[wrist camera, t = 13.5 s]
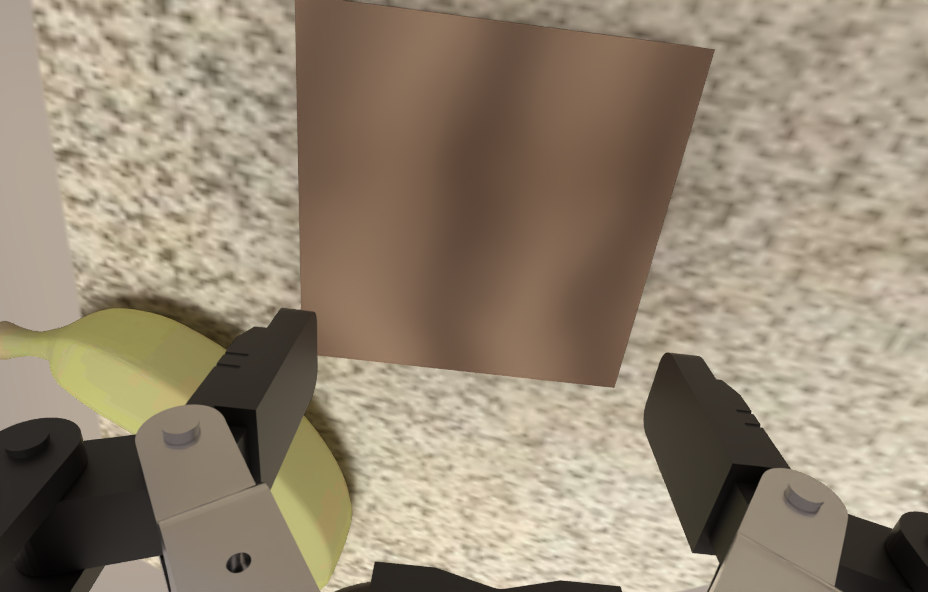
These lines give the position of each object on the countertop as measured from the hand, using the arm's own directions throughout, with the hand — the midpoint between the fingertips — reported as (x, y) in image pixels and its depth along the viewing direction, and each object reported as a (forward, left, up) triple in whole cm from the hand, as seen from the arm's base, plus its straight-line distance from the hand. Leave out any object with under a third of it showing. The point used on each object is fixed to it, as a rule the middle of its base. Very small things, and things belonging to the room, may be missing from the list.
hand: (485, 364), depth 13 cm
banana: (+4, +18, -9) cm, 21 cm away
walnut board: (0, 0, -12) cm, 12 cm away
